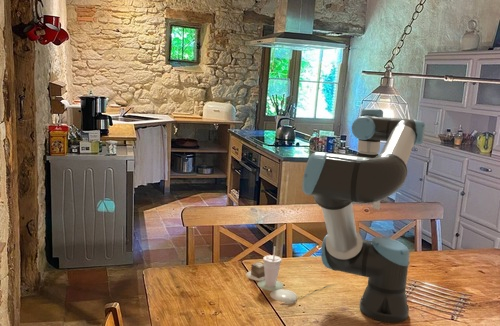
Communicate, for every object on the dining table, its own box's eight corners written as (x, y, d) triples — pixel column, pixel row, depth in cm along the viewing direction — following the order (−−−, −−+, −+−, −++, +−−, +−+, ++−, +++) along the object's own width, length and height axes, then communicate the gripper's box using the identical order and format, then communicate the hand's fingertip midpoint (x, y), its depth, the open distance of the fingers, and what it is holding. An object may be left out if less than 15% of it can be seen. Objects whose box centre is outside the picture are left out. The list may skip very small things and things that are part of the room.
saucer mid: (288, 291, 159) (288, 287, 159) (265, 295, 155) (265, 292, 155) (274, 280, 167) (274, 277, 167) (252, 284, 163) (253, 281, 162)
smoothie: (280, 289, 157) (282, 250, 155) (261, 288, 157) (263, 249, 155) (279, 281, 164) (281, 243, 161) (261, 280, 164) (263, 242, 161)
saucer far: (275, 281, 166) (275, 278, 166) (253, 285, 162) (253, 282, 162) (263, 271, 174) (263, 268, 174) (241, 275, 170) (242, 272, 170)
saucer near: (302, 302, 152) (302, 298, 151) (278, 307, 147) (279, 303, 147) (287, 290, 159) (287, 287, 159) (264, 295, 155) (265, 291, 155)
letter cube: (266, 275, 168) (267, 264, 167) (258, 278, 165) (259, 267, 164) (258, 271, 171) (259, 261, 170) (250, 274, 168) (251, 263, 167)
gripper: (385, 149, 172) (379, 204, 176) (333, 151, 160) (328, 210, 164) (401, 153, 166) (394, 209, 169) (348, 155, 153) (342, 216, 157)
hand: (362, 210), depth 167 cm, fingers open, 13 cm apart
